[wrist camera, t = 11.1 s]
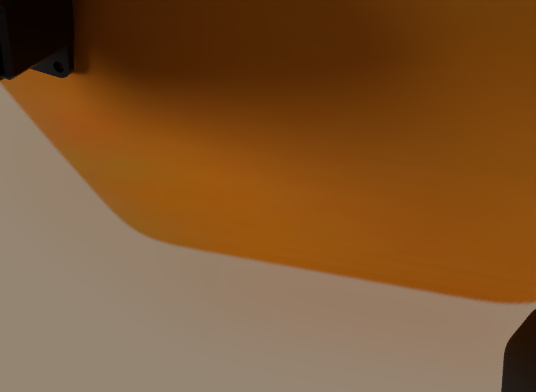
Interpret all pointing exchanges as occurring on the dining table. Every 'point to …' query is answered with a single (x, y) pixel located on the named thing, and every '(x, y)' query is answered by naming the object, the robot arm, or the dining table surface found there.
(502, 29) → the dining table surface
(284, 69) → the dining table surface
